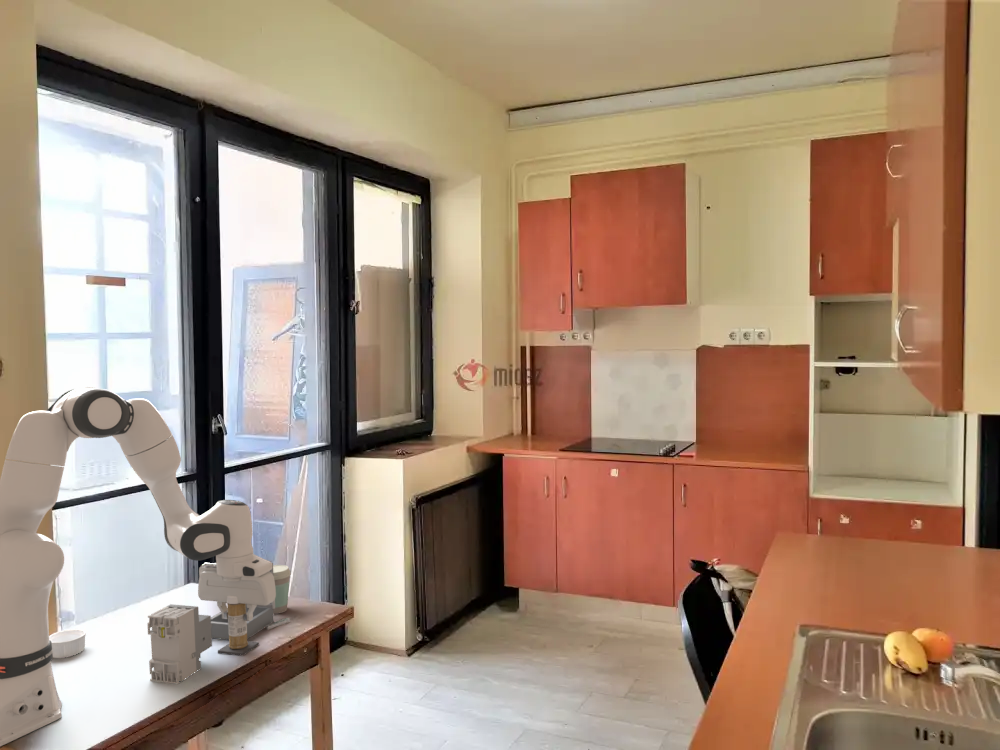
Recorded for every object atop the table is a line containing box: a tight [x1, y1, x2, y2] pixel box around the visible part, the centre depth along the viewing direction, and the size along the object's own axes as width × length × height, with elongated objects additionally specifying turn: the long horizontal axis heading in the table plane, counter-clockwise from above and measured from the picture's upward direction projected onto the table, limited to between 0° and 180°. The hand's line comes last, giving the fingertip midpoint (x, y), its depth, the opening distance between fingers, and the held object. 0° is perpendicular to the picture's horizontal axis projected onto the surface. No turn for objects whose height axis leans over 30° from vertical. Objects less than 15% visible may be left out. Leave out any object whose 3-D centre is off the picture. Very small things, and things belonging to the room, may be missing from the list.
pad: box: [217, 640, 260, 656], centre depth 199 cm, size 7×7×1 cm
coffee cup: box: [273, 564, 292, 615], centre depth 225 cm, size 8×8×12 cm
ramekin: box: [49, 628, 87, 659], centre depth 199 cm, size 9×9×4 cm
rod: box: [264, 617, 291, 630], centre depth 214 cm, size 7×1×1 cm, turn 141°
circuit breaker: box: [147, 603, 213, 685], centre depth 187 cm, size 8×14×15 cm, turn 164°
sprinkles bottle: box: [226, 596, 248, 649], centre depth 198 cm, size 5×5×13 cm
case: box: [211, 562, 275, 641], centre depth 212 cm, size 15×13×16 cm
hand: (237, 619), depth 198 cm, fingers open, 5 cm apart
